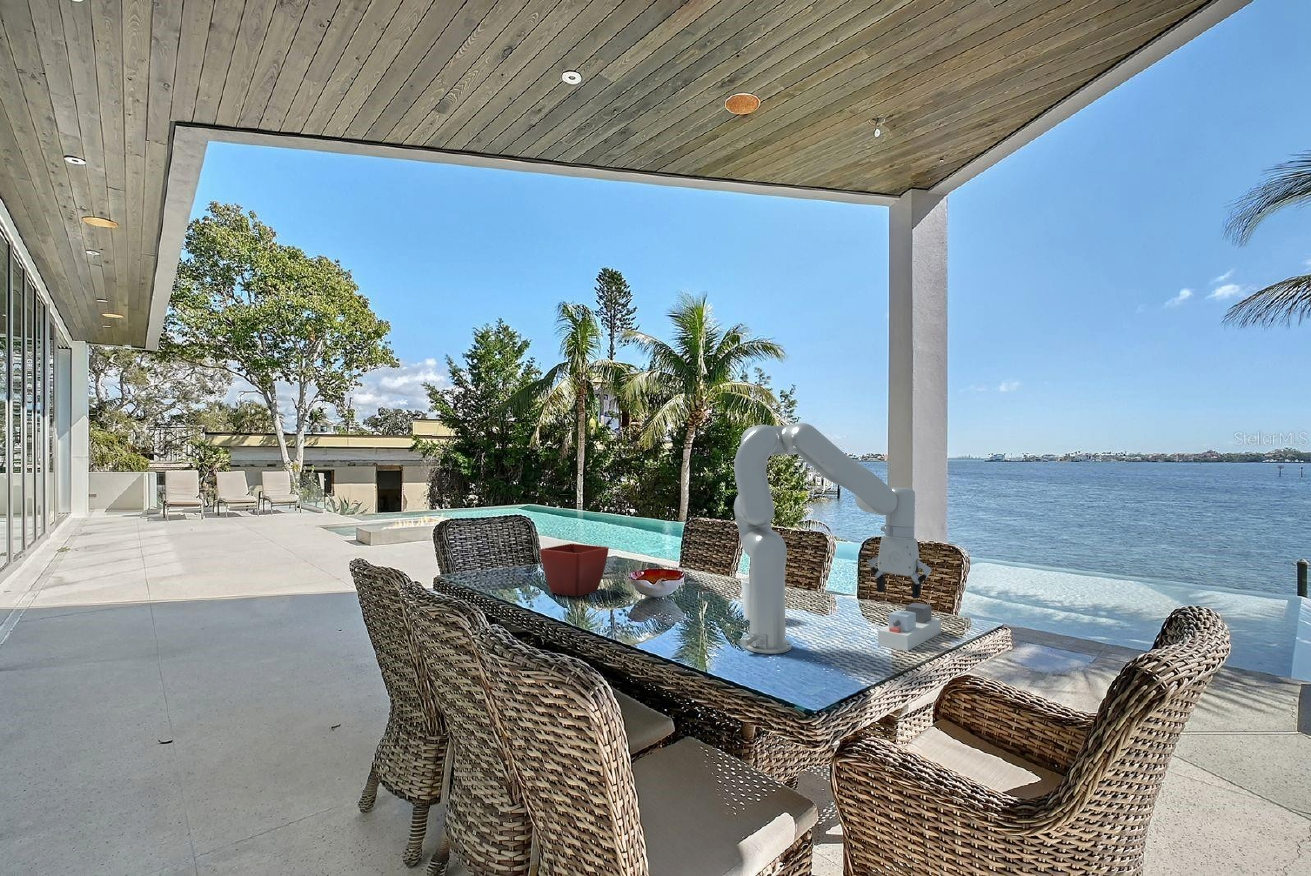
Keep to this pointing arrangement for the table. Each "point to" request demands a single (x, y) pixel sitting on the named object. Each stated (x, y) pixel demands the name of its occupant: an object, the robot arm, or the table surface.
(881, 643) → the power strip
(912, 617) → the grey plug
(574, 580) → the plant pot
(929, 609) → the dark grey block
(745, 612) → the candle holder
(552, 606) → the table surface
